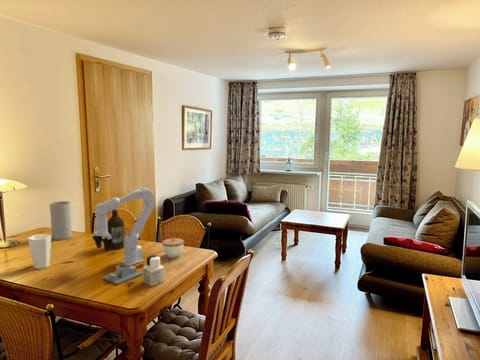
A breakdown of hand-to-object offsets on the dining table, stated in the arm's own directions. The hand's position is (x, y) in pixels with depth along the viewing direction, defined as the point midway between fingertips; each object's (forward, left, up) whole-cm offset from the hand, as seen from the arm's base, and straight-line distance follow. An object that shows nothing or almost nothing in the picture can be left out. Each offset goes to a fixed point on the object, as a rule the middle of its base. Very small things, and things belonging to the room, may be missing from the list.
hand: (103, 249), depth 189 cm
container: (-4, +38, -10) cm, 40 cm away
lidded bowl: (-35, +18, -10) cm, 41 cm away
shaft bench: (+2, +21, -10) cm, 23 cm away
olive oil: (-23, -23, -10) cm, 34 cm away
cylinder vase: (-12, -72, -10) cm, 74 cm away
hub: (+2, +21, -9) cm, 23 cm away
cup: (+21, -27, -10) cm, 36 cm away
